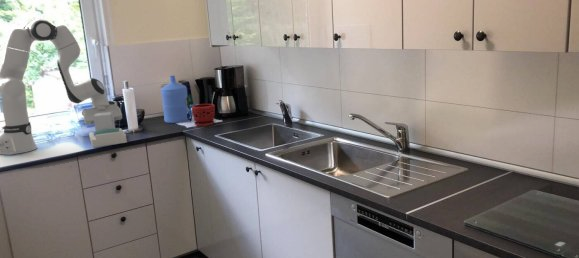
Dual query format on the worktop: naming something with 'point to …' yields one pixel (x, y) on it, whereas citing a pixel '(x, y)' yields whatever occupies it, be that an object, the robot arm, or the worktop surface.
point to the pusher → (107, 131)
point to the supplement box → (104, 121)
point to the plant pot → (203, 114)
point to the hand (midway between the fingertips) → (105, 127)
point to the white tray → (108, 138)
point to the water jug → (174, 102)
